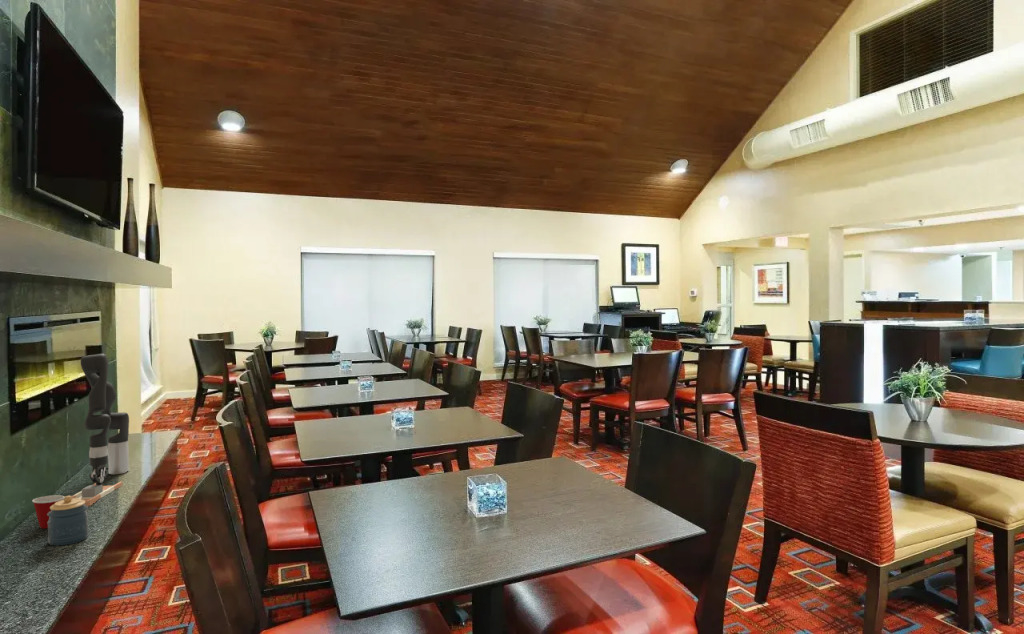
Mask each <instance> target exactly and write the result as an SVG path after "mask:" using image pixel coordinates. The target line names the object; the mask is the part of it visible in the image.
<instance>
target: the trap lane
mask: <svg viewBox="0 0 1024 634" xmlns="http://www.w3.org/2000/svg"><path fill="white" fill-rule="evenodd" d="M92 485H96V483H94V484H92ZM123 485H124V484H123V481H119V482H117V483H116V484H114V485H103V492H101V493H100V494H98V495H96V496H94V497H82V490H80V491H79V492H77V493H75V494H73V495H70V496H71V497H72V498H79V499H81V500H84V501H85V505H87V506H88V507H91V506H92V505H94V504H95V503H97V502H98V501H99V500H100V499H102V498H103V497H105V496H107V495H109V494H110V493H112V492H113V491H115V490H117V489H118V488H120V487H122V486H123ZM96 501H97V502H96ZM93 503H94V504H93Z"/></svg>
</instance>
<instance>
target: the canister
mask: <svg viewBox="0 0 1024 634" xmlns="http://www.w3.org/2000/svg"><path fill="white" fill-rule="evenodd" d="M71 496H72V495H66V496H64V497H65V498H64V499H63V500H61V501H58V502H56V503H55V504H53V505H52V506H51V507H50V509H51V511H49V512H48V513H47V515H48V516H49V521H48V522H47V523H48V528H47V531H48V532H47V542H48V545H50V546H53V545H62V546H66V545H67V544H68V545H72V543H73V544H76V543H78V542H81V540H82V541H83V540H86V538H88V536H89V533H90V531H89V514H88V512H87V511H88V509H89V506H87V505H85V501H84V500H81V499H79V498H72V497H71ZM68 545H67V546H68Z"/></svg>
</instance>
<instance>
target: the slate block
mask: <svg viewBox="0 0 1024 634" xmlns="http://www.w3.org/2000/svg"><path fill="white" fill-rule="evenodd" d="M103 486H104V484H103V485H93V484H89V485H87V486H86V487H84V488H82V489H81V491H82V497H94V496H96V495H98V494H100V493H101V492H103Z"/></svg>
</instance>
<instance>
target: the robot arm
mask: <svg viewBox="0 0 1024 634" xmlns="http://www.w3.org/2000/svg"><path fill="white" fill-rule="evenodd" d="M80 366H81V369H82V372H83V374H84V375H85V377H86V379H87V381H88V383H89V385H90V387H91V390H90V391H89V393H88V411H87V415H86V418H85V421H84V428H85V429H86V430H88V431H94V430H95V431H96V430H101V431H100V432H97V433H94V434H91V435H90V436H89V453H88V456H89V457H88V459H89V460H88V461H89V466H90V467H92V469H91V471H92V473H91V474H89V475H88V477H89V478H90V480H91V481H92V483H94V484H95V483H96V485H103V486H104V484H103V482H104V480H106V479H107V474H109V475H119V474H125V473H128V472H129V468H130V465H129V463H130V461H129V454H130V453H129V433H130V432H129V429H130V428H129V427H130V417H129V414H128V413H127V412H112V410H111V409H112V406H113V405H114V403H115V401H116V399H117V393H116V389H115V388H114V384H112V383H111V382H109V381H108V377H109V367H110V365H109V358H108V356H107V354H106V353H105V354H104V353H97V354H90V355H85V356H82V357H81V358H80ZM97 373H99V375H98V374H97ZM97 413H101V414H97ZM109 430H110V431H111V430H112V431H113V430H119V431H118V433H115V434H113V435H110V436H108V434H109V433H108V432H109ZM106 465H108V467H107V466H106ZM127 471H128V472H127Z"/></svg>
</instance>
